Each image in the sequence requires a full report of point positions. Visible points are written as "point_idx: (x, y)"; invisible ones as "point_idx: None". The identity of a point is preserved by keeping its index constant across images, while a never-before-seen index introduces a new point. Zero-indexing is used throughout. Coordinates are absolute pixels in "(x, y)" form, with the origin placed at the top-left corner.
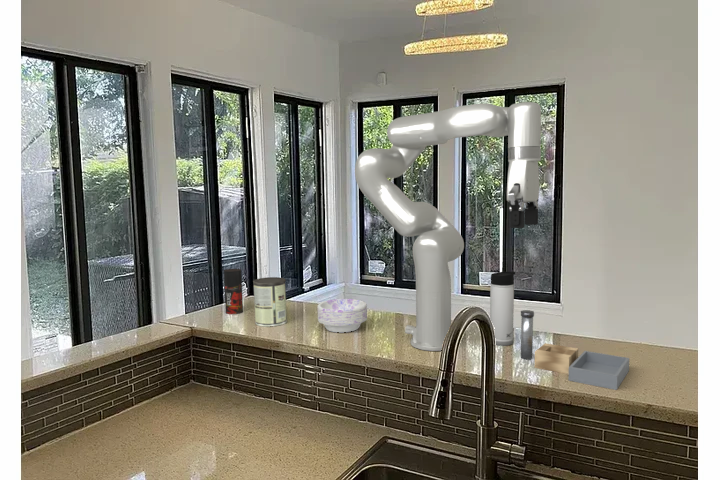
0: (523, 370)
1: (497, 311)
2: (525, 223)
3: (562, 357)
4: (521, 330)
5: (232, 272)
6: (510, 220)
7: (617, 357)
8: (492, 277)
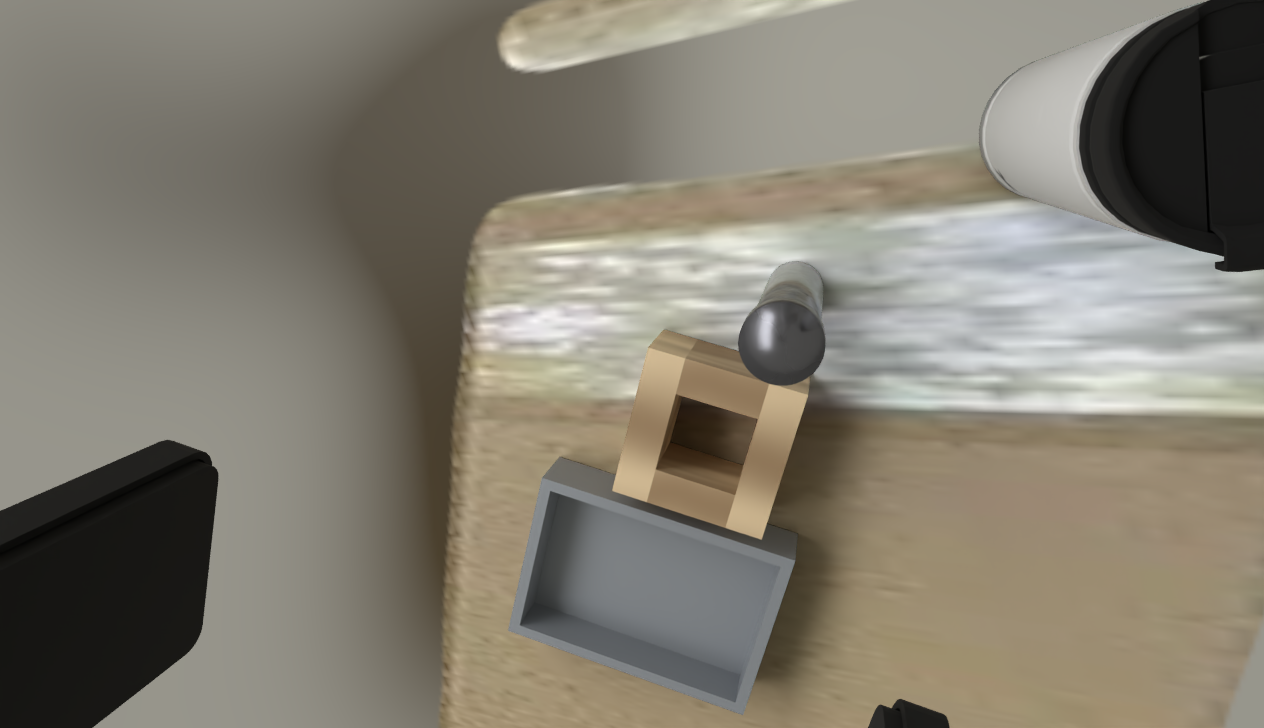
0: (614, 285)
1: (1026, 106)
2: (877, 716)
3: (619, 463)
4: (777, 287)
5: None
6: (67, 486)
7: (745, 673)
8: (1168, 24)
